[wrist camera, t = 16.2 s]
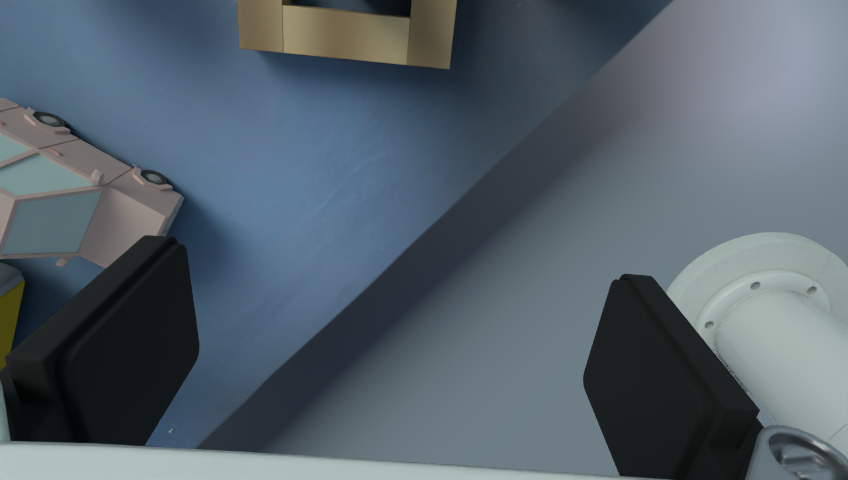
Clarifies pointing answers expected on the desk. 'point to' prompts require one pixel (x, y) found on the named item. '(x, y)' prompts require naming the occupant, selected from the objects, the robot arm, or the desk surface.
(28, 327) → the desk surface
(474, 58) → the desk surface
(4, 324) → the alarm clock
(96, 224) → the toy car
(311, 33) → the wooden square frame
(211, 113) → the desk surface
